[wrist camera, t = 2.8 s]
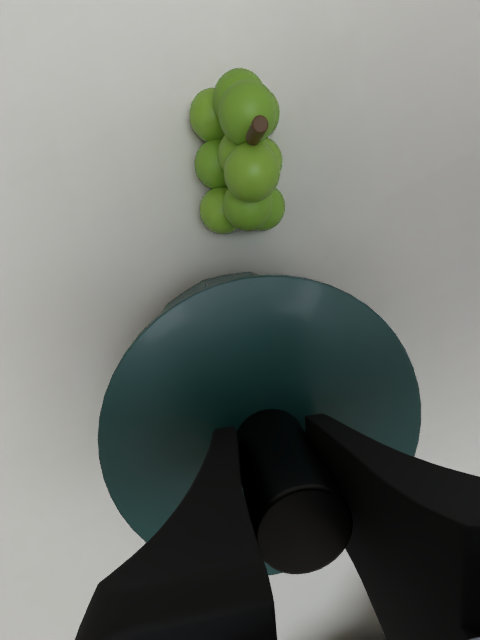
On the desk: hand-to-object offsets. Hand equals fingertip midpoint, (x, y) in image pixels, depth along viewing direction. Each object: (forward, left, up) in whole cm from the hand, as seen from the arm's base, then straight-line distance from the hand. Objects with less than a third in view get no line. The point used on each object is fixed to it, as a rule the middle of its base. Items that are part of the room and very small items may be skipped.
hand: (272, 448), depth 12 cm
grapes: (+6, -8, -7) cm, 12 cm away
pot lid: (0, 0, -1) cm, 1 cm away
